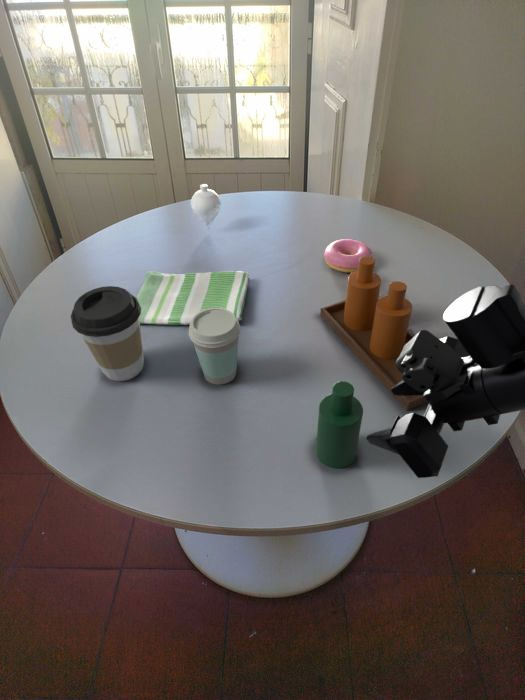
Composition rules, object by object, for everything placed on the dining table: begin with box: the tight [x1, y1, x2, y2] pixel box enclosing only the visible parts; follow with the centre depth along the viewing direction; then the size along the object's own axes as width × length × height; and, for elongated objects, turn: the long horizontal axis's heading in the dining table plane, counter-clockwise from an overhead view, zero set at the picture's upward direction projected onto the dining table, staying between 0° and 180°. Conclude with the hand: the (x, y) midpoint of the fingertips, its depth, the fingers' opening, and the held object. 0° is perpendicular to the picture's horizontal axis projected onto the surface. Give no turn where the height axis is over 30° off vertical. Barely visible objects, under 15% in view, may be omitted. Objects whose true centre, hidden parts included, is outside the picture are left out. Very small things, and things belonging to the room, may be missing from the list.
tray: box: [319, 299, 428, 412], centre depth 87 cm, size 28×11×2 cm, turn 25°
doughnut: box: [323, 238, 373, 273], centre depth 109 cm, size 11×11×4 cm
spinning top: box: [190, 183, 222, 230], centre depth 120 cm, size 8×8×12 cm
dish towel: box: [135, 270, 250, 326], centre depth 100 cm, size 18×23×3 cm
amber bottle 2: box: [370, 280, 413, 359], centre depth 82 cm, size 6×6×14 cm
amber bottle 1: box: [344, 256, 382, 331], centre depth 88 cm, size 6×6×14 cm
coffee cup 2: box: [188, 308, 241, 386], centre depth 80 cm, size 8×8×12 cm
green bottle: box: [315, 380, 364, 469], centre depth 66 cm, size 6×6×14 cm
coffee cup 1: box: [70, 285, 145, 382], centre depth 81 cm, size 11×11×15 cm
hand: (381, 414), depth 61 cm, fingers open, 9 cm apart
